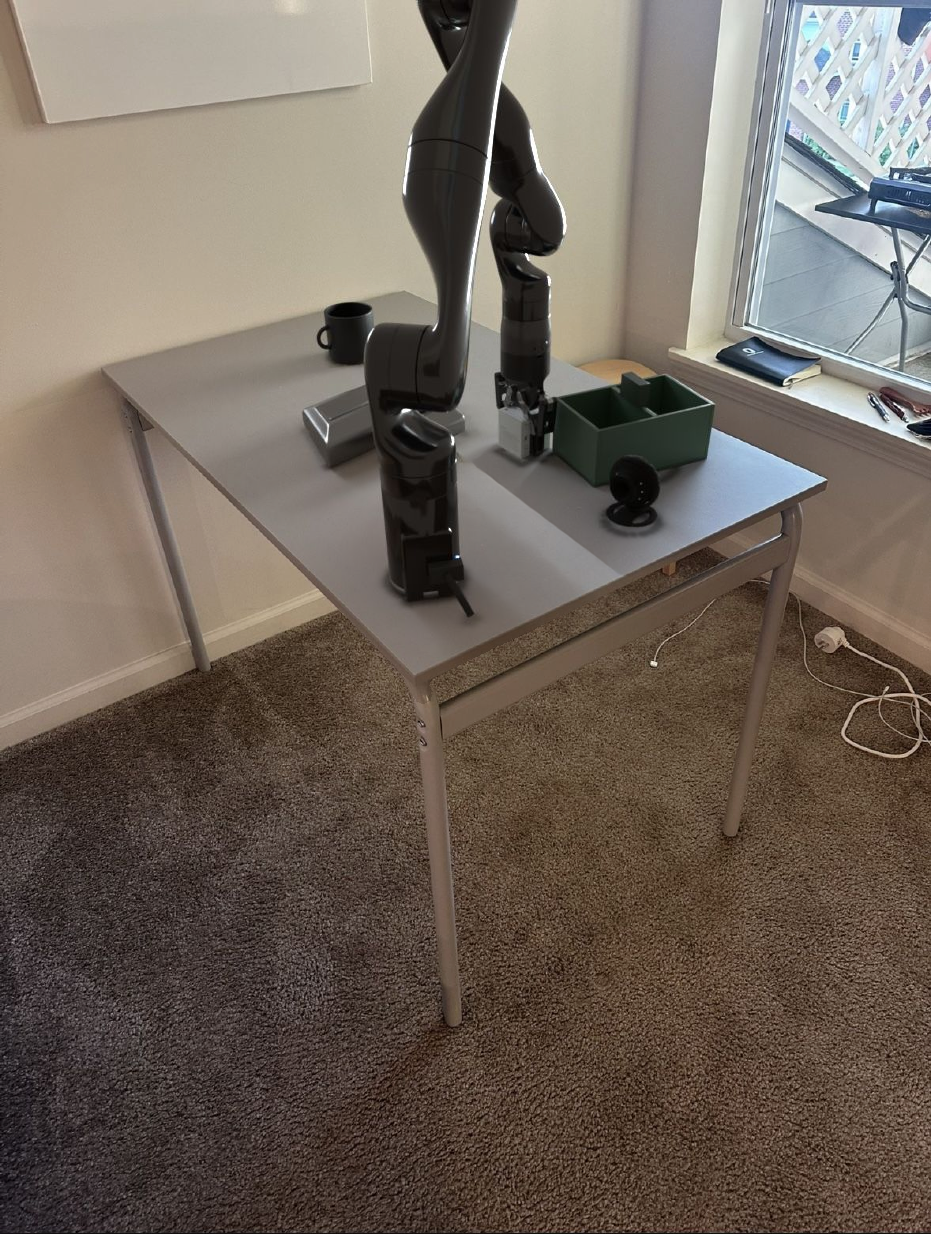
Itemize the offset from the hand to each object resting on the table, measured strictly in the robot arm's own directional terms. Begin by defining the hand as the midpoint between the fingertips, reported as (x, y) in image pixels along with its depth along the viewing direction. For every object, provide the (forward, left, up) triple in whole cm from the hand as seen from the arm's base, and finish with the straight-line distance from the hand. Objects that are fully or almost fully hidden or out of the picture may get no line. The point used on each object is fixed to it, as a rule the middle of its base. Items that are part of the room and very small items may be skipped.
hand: (524, 445), depth 143 cm
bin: (-7, -15, 0) cm, 17 cm away
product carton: (0, 0, -1) cm, 1 cm away
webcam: (-24, -9, -1) cm, 26 cm away
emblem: (+13, +21, -1) cm, 25 cm away
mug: (+48, +24, -1) cm, 54 cm away
